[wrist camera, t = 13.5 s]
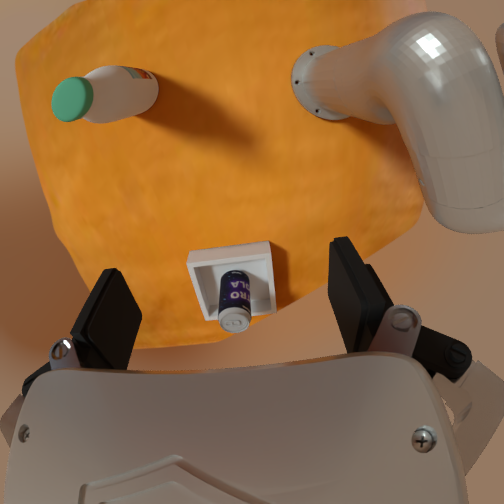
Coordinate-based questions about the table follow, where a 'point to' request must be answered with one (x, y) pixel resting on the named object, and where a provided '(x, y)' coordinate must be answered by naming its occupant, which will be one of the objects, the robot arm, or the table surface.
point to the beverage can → (234, 302)
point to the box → (226, 259)
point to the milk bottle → (105, 95)
